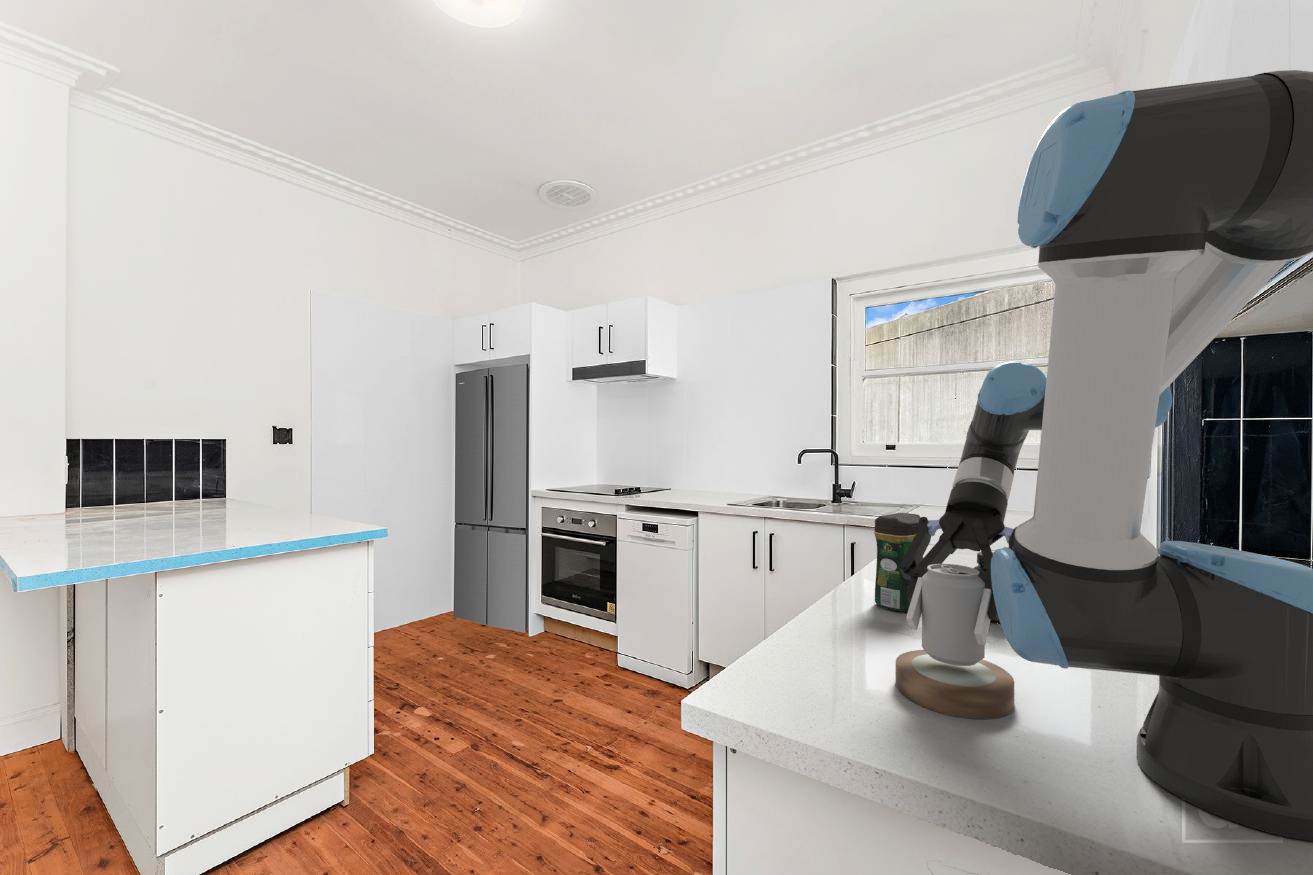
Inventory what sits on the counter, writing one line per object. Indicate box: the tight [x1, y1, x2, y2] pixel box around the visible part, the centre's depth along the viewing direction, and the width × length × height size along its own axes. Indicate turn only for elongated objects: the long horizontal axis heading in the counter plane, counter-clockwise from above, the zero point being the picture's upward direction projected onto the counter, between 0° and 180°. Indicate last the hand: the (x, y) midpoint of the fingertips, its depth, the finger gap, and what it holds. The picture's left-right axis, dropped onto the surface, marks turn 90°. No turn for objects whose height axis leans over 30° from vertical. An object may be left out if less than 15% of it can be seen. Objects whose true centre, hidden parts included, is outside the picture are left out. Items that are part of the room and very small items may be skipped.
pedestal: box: [894, 649, 1015, 720], centre depth 75 cm, size 14×14×3 cm
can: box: [921, 563, 986, 666], centre depth 75 cm, size 8×8×12 cm
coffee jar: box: [874, 512, 924, 613], centre depth 112 cm, size 10×8×19 cm
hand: (944, 631), depth 73 cm, fingers closed on can, 7 cm apart
